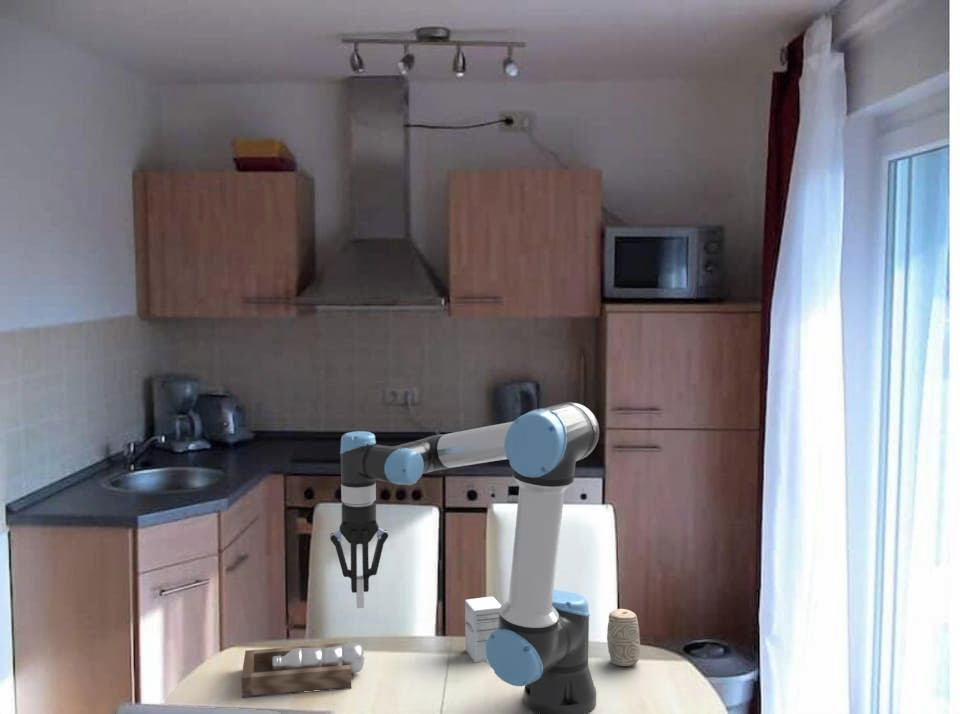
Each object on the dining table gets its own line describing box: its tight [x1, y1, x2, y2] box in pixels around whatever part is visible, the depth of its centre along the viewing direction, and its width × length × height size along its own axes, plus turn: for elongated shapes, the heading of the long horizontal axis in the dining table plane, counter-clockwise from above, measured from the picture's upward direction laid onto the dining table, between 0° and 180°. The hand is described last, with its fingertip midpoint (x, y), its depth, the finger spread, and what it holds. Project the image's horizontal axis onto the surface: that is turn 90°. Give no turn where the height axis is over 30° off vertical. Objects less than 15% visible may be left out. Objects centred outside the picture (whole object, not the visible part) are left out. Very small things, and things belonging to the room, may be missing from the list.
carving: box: [606, 608, 641, 667], centre depth 214 cm, size 6×8×12 cm
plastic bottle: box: [272, 642, 365, 674], centre depth 208 cm, size 6×7×20 cm
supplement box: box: [464, 596, 503, 663], centre depth 219 cm, size 7×7×13 cm
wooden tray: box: [240, 642, 352, 699], centre depth 208 cm, size 23×14×4 cm, turn 101°
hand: (360, 605), depth 209 cm, fingers closed
